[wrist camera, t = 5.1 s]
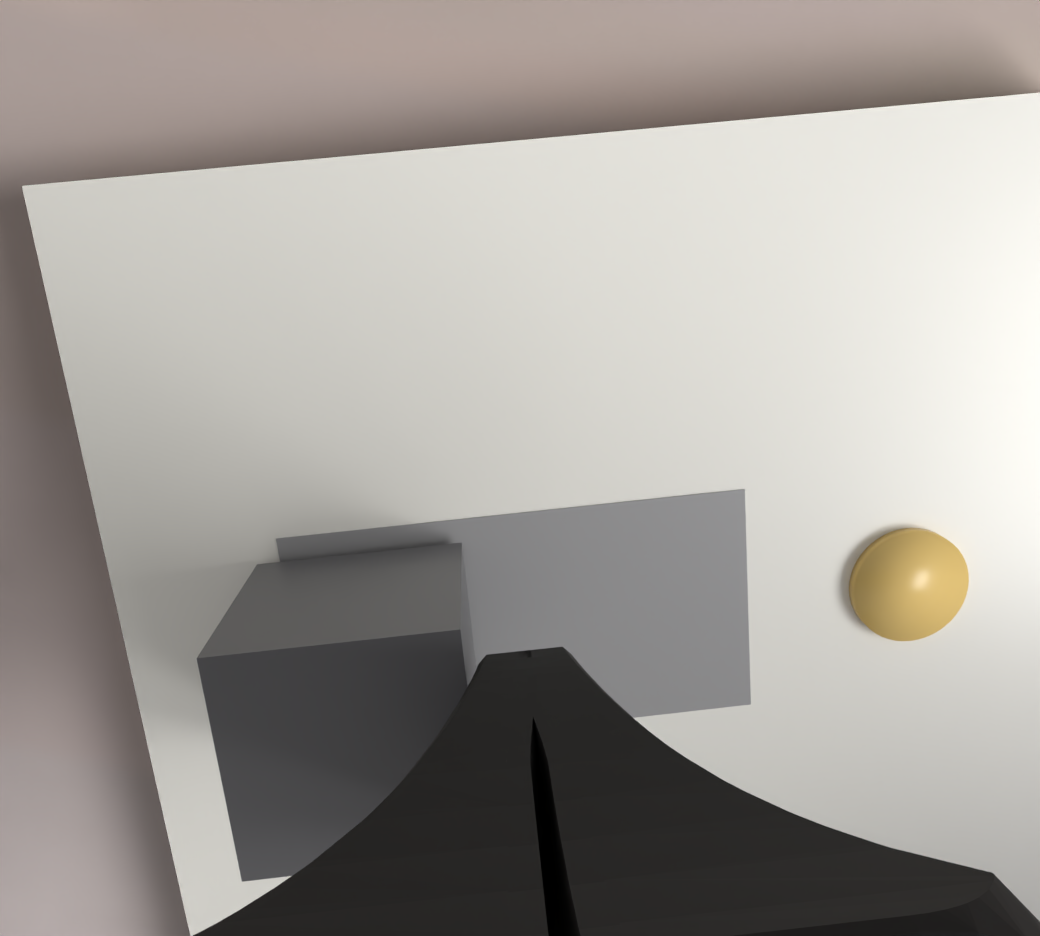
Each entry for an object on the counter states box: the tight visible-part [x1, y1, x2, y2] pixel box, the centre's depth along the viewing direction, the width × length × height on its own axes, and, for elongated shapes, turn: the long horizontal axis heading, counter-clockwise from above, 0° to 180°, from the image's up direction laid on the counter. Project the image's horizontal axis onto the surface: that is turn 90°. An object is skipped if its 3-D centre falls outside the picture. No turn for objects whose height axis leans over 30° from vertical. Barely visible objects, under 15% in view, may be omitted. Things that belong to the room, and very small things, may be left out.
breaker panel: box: [22, 93, 1040, 936], centre depth 14 cm, size 15×20×4 cm
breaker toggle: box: [197, 543, 476, 882], centre depth 12 cm, size 3×3×3 cm
